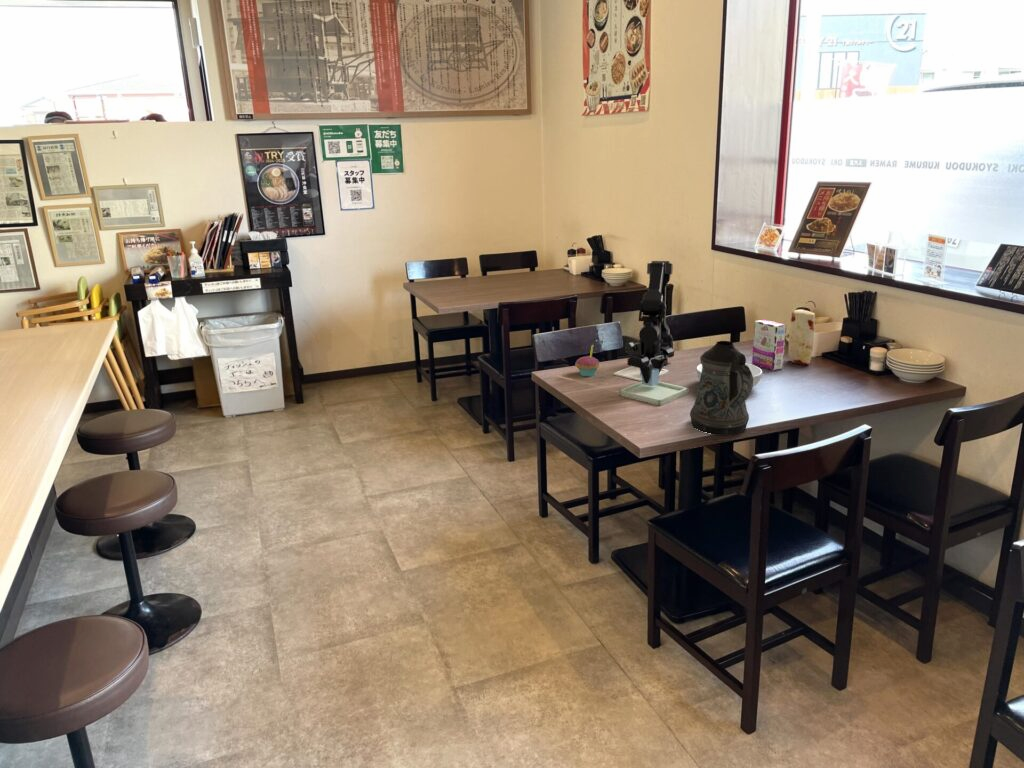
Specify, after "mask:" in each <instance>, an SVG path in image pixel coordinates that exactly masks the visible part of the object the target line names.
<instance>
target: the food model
mask: <svg viewBox="0 0 1024 768" xmlns="http://www.w3.org/2000/svg"><path fill="white" fill-rule="evenodd" d="M790 319H791V320H790V326H789V336H788V347H787V348H788V351H787V352H788V353H787V354H788V355H787V357H788V360H789V361H790V362H791V363H793V364H794V363H795V364H797V365H802V366H805V365H809V364H810V362H811V359H812V355H813V349H814V344H815V331H816V329H815V328H816V314H815V312H812V311H809V310H805V309H802V308H801V309H794V310H792V312H791V318H790Z"/></svg>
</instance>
